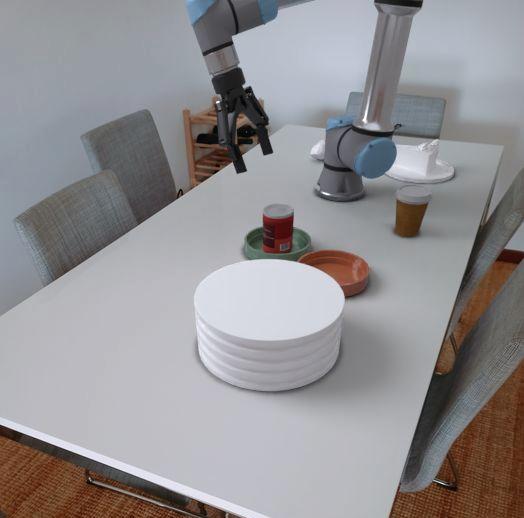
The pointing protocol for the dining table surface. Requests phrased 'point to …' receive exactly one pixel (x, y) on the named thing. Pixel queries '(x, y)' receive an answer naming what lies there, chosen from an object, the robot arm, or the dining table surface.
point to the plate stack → (269, 323)
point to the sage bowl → (256, 252)
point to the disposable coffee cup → (411, 209)
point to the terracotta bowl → (340, 268)
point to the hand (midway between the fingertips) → (255, 163)
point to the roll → (318, 150)
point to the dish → (420, 164)
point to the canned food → (278, 228)
